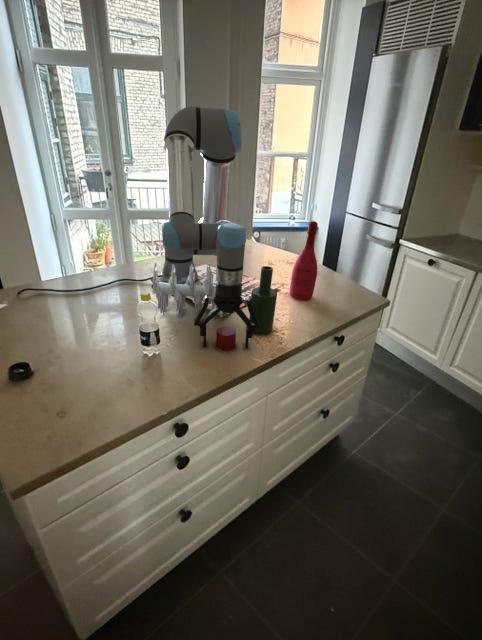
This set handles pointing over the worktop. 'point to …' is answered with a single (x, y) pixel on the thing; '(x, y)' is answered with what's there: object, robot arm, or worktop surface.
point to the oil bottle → (264, 302)
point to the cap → (225, 338)
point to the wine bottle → (305, 268)
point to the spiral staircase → (183, 290)
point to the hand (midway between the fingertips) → (225, 345)
